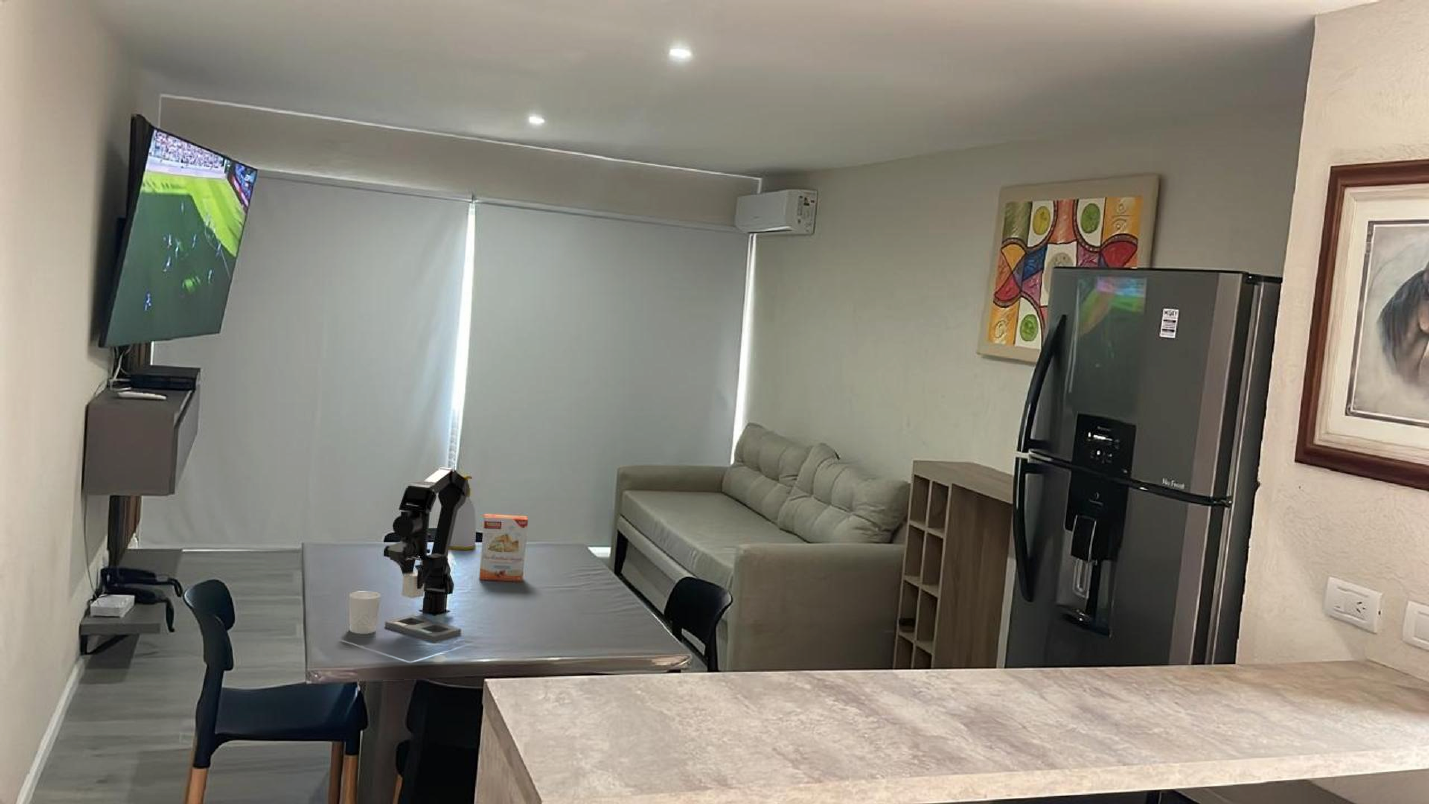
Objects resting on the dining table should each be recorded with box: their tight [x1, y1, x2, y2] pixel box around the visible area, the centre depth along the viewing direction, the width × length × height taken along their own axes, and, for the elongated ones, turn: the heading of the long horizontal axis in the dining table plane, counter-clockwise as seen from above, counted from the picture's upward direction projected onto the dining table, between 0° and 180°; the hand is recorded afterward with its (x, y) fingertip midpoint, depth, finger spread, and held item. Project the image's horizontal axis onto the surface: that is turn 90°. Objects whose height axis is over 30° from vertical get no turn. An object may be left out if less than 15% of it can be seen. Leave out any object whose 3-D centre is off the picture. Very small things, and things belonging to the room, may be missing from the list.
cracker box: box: [478, 513, 529, 583], centre depth 369 cm, size 14×6×21 cm, turn 102°
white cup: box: [348, 590, 382, 635], centre depth 302 cm, size 8×8×10 cm
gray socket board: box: [384, 614, 462, 643], centre depth 306 cm, size 10×18×2 cm, turn 60°
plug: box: [401, 570, 424, 599], centre depth 307 cm, size 5×4×6 cm
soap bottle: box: [449, 474, 477, 551], centre depth 408 cm, size 11×12×26 cm
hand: (413, 587), depth 307 cm, fingers closed on plug, 4 cm apart
